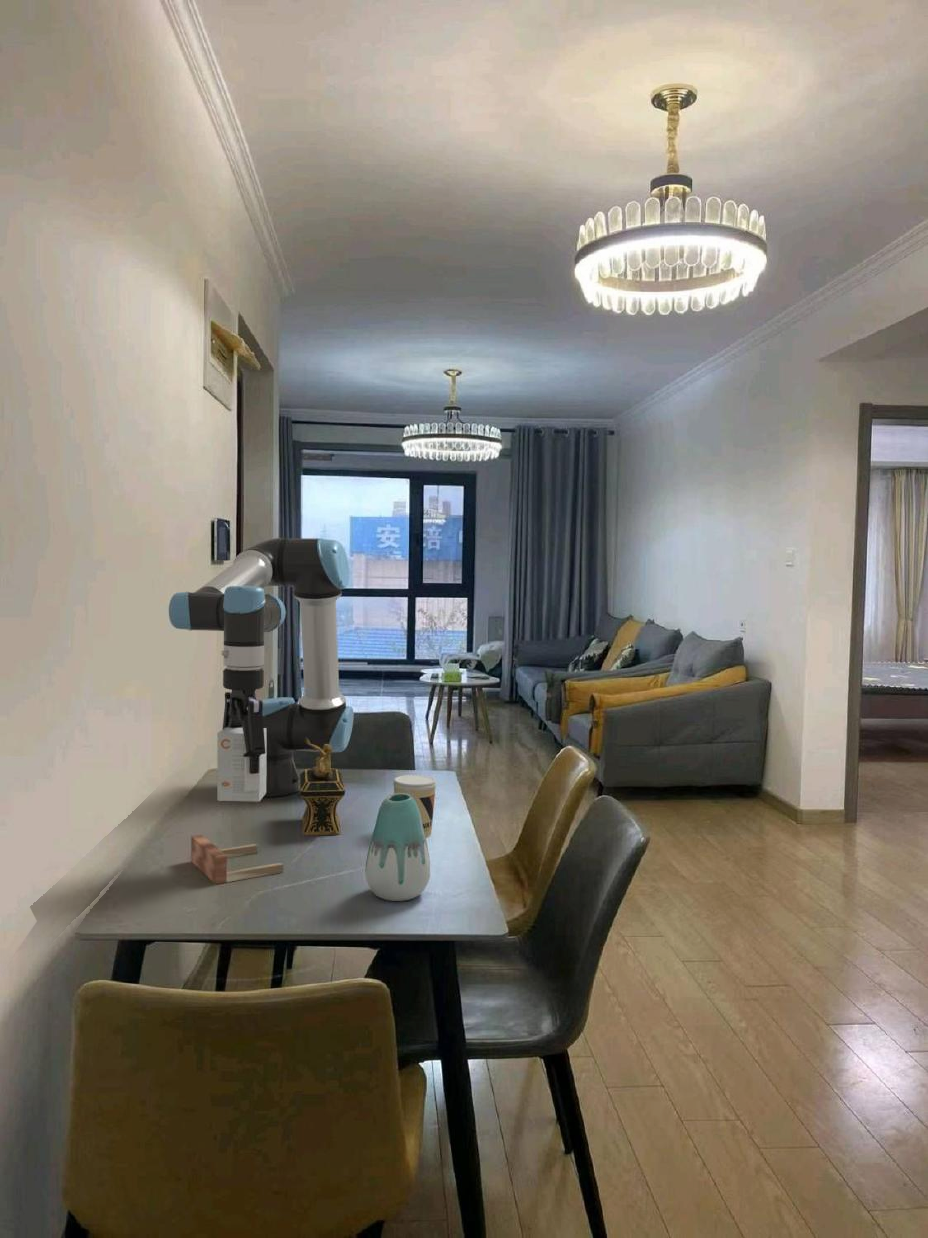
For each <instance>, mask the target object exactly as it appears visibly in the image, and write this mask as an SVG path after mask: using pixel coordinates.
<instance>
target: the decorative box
mask: <svg viewBox="0 0 928 1238" xmlns="http://www.w3.org/2000/svg"><path fill="white" fill-rule="evenodd" d="M306 739H307V741H308V742H306V741H305V742H306V743H307V744H308V745H310V746H312V747H314V748H315V749H317V750H318V751H319V752H318V753H320V756H318V757H316V758H315V762H316V763H315V764H316V765H315V766H313V767H311V768H307V769H304V770H303V771H302V772H301V773H300V774H299V780H300V783H299V785H300V789H299V796H300V797H301V798H302V800H303V801H304V802H305V804H306V807H305V810H304V812H303V814H302V817H301V824H302V826H301V827H302V828H301V829H302V835H304V836H307V837H309V836H337V835H339V834H341V833H342V831H341V826H340V820H339V815H338V813H337V807H338V804H339V803H340V801H341V800H342V799H343V798H344V796H345V795H346V790H345V784H344V781H343V776H342V773H341V772H340V771H339V770H338V769H337V768H331V767H332V764H331V763H332V761H331V755H332V753H333V752H332V746H331V745H328V744H325V745H324V747H323V748H322V749H320V747H318V746H316V745H313V744H310V742H309V740H308V738H306Z"/></svg>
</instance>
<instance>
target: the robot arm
mask: <svg viewBox="0 0 928 1238" xmlns="http://www.w3.org/2000/svg"><path fill="white" fill-rule="evenodd" d="M348 560H349V559H348V556H347V551H346V549H345V548H344V546H343V544H342V543H341V542H340V541H338V540H336V539H326V538H321V537H320V538H316V537H315V538H307V537H306V538H303V537H302V538H301V537H300V538H298V537H297V538H291V537H290V538H286V537H276V538H272V539H268V540H264V541H261V542H259V543H256V544H254V545H252V546H249V547H248V548H245V550H243V551H242V552H240V553H239V554H237V556H236V557H235V558H234V559H233V563H232V564H230V566H229V567H227V568H225V569H224V570H223V571H222V572H220V573H219V574H218V575H216V576H215V577H213V578H212V579H210V580H209V581H208V582H207V583H206V584H204V585H203V586H201V587H200V588H199V589H197V590H196V591H195V592H193V591H192V592H189V591H184V592H176V593H174V594H173V595H172V596H171V598H170V600H169V604H168V617H169V618H168V619H169V621H170V624H171V626H172V627H173V628H174V629H176V630H177V629H178V630H186V631H213V632H214V631H215V632H223V650H221V651H220V653H221V656H223V666H224V668H223V671H222V673H223V674H222V687H223V688H224V689H225V690H229V691H228V692H227V691H225V692H224V710H223V718H222V719H223V720H222V721H223V722H222V729H221V731H222V730H223V729H225V728H226V727H229V728H243V733H244V739H245V746H246V752H247V753H245V754H244V755H243V756H244V757H245V772H244V791H252V790H260V756H261V754H265V740H264V728H266V794H265V795H264V796H263V797H264V798H266V797H267V798H271V797H282V796H283V797H284V796H288V795H291V794H292V795H293V794H295V793H297V792H300V785H299V783H300V775H299V774H298V770H297V767H296V764H295V761H294V751H297V752H298V751H299V752H301V751H302V752H314V753H315V752H317V753H320V752H319V751H318V750H317V749H315V748H314V747H312V746H310V745H308V744H307V743H306V742H308V741H307V739H306V738H308V740H309V742H310V744H313V745H316V746H318V747H320V749H322V748H323V747H324V745H325V744H328V745H331V746H332V753H342V752H343V751H344V750H346V748H347V746H348V745H349V742H350V740H351V735H352V730H353V727H354V726H353V725H354V719H355V718H354V713H355V712H354V708H353V707H352V706H350V705H347V703H346V701H347V700H346V697H345V695H344V694H342V693H341V692H340V681H339V677H340V675H339V651H338V626H337V600H338V599H339V598H340V597H341V596H342V594H343V593H342V592H343V591H342V590H343V589H346V588H347V586H348V585H349V579H350V578H349V574H350V567H349V561H348ZM266 587H287V588H289V587H290V588H292V593H293V597H294V598H295V599H296V600H297V601H298V602H299V609H300V625H301V627H300V628H301V629H300V630H301V645H302V646H301V648H302V649H301V650H302V666H303V667H302V670H303V671H302V672H303V688H304V689H303V690H304V693H303V695H302V696H301V697H300V698H299V700H298V703H297V704H295V703H296V702H295V699H294V698H293V697H288V696H287V697H275V698H273V697H272V698H267V699H261V700H257V697H256V691H257V690H260V689H262V688H263V687H265V686H264V685H265V684H264V681H265V679H264V678H265V670H264V669H263V668H262V667H263V666H264V665H265V633H271V632H273V631H275V630H276V629H278V628H280V626H281V625H282V624H284V621H285V618H286V614H287V613H286V607H285V604H284V602H283V601H282V600H281V599H280V598H279V597H278V596H276V595H274V594H270V593H265V589H264V588H266ZM230 690H231V691H230ZM305 741H306V742H305Z"/></svg>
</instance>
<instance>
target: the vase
mask: <svg viewBox="0 0 928 1238" xmlns="http://www.w3.org/2000/svg"><path fill="white" fill-rule="evenodd" d="M365 858H366V859H365V869H364V871H365V872H364V873H365V874H364V875H365V880H366V884H367V885H368V888H369V889H370V890H371V892H372V893H373V894H374V895H375V896H377V898H380V899H383V900H385V901H390V902H404V901H409V900H413V899H415V898H417V897H418V896H420V895H421V894H422V893H423V892H424V891H425V889H426V888H427V885H429V884H428V883H429V881H430V878H431V859H430V858H431V857H430V853H429V847H428V841H427V838H426V837H425V834H424V830H423V825H422V820H421V815H420V812H419V808H418V806H417V804H416V802H415V800H414V799H413V797H412V796H411V795H410V794H407V793H396V794H394V793H392V794H389V795H388V796H386V797H385V798H384V799H383V800H382V803H381V804H380V807H379V809H378V814H377V817H376V820H375V825H374V829H373V832H372V835H371V839H370V844H369V847H368V850H367V853H366V857H365Z"/></svg>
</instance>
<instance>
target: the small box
mask: <svg viewBox="0 0 928 1238" xmlns="http://www.w3.org/2000/svg"><path fill="white" fill-rule="evenodd" d="M222 729H223V728H222ZM222 729H221V730H220V731H219V732H217V765H216V766H217V772H216V774H217V776H216V780H217V787H216V788H217V789H216V790H217V791H216V792H217V793H216V797H217V800H216V801H218V802H220V801H221V802H223V801H224V802H255V803H257V802H259V803H260V801H261V800H263V796H264V795H265V794H266V728H264V740H265V754H261V756H260V790H252V791H244V772H245V757H244V756H243V755H244V754H245V753H247V752H246V746H245V739H244V733H243V727H242V728H229V727H226V728H225V729H223V730H222Z"/></svg>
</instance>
